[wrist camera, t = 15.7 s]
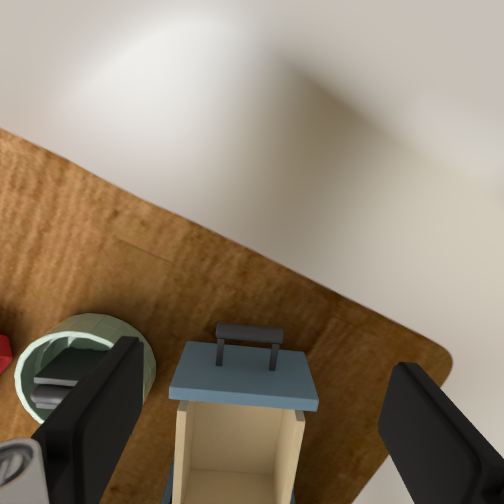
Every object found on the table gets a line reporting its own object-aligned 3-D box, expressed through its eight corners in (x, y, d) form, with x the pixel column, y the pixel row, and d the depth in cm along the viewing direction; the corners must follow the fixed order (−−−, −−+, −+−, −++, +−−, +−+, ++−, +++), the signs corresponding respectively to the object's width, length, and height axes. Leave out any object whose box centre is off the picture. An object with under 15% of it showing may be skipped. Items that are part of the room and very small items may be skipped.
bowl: (49, 402, 33) (20, 434, 28) (41, 305, 30) (8, 325, 25) (156, 411, 33) (143, 444, 29) (159, 316, 30) (145, 338, 26)
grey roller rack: (66, 373, 31) (27, 414, 25) (64, 346, 30) (24, 382, 25) (133, 379, 31) (108, 421, 26) (133, 352, 30) (107, 390, 25)
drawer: (189, 302, 29) (171, 340, 22) (310, 314, 29) (328, 354, 22) (179, 463, 34) (162, 532, 27) (282, 471, 34) (290, 541, 28)
